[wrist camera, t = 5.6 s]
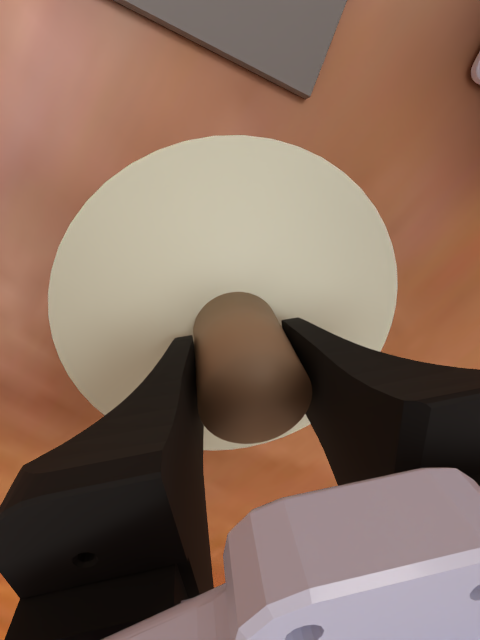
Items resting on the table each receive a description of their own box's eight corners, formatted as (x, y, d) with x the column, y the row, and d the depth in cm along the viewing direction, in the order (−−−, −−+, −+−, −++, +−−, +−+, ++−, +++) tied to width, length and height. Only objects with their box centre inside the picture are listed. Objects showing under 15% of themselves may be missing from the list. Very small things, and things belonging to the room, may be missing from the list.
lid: (406, 116, 11) (556, 98, 6) (367, 408, 17) (430, 498, 13) (-9, 158, 10) (-166, 170, 5) (113, 455, 16) (87, 572, 12)
